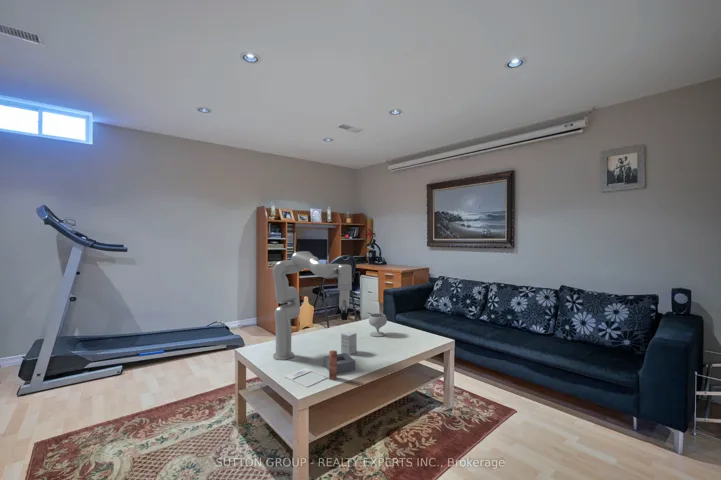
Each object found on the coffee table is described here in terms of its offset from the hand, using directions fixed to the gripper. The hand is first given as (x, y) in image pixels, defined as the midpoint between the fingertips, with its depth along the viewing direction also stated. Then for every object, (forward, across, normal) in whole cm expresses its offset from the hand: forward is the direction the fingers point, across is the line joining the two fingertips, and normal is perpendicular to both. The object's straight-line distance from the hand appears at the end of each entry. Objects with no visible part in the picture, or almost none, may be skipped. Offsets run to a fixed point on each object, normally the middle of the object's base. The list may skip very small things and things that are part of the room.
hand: (345, 317), depth 175 cm
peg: (+30, +9, -6) cm, 32 cm away
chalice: (+30, -69, +19) cm, 78 cm away
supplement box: (+30, -30, 0) cm, 42 cm away
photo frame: (+30, +8, -20) cm, 37 cm away
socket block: (+30, -6, -4) cm, 30 cm away
